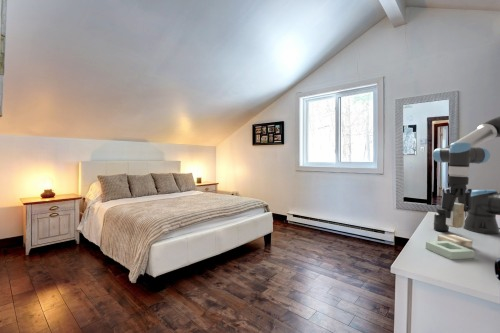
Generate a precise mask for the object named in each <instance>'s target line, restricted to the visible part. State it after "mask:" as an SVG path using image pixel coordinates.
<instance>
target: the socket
mask: <svg viewBox="0 0 500 333" xmlns="http://www.w3.org/2000/svg"><path fill="white" fill-rule="evenodd" d="M425 249H426V250H429V251H431V252H432V253H435V254H438V255H440V256H442V257H444V258H447V259H450V260H463V259H475V250H473V249H470V248H469V247H468V248H465V247H463V246H460V245H457V244H454V243H452V242H449V241H438V240H436V241H435V240H434V241H426V242H425Z"/></svg>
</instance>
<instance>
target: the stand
mask: <svg viewBox="0 0 500 333" xmlns="http://www.w3.org/2000/svg"><path fill="white" fill-rule="evenodd" d="M437 241H449V242H452V243H454V244H457V245H460V246H463V247H465V248H468V249H469V248H473V240H471V239H467V238H465V237H462V236H458V235H456V234H438V235H437Z"/></svg>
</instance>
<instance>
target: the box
mask: <svg viewBox="0 0 500 333" xmlns="http://www.w3.org/2000/svg"><path fill="white" fill-rule="evenodd" d="M452 212H453V226H450V225H447V226H449V228H450V227H451V228H456V229H460V228H463V215H464V204H461V203H459V202H455V203H454V206H453V209H452Z"/></svg>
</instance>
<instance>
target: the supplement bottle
mask: <svg viewBox="0 0 500 333" xmlns="http://www.w3.org/2000/svg"><path fill="white" fill-rule="evenodd" d="M445 216H446V211H445V210H443V209H442V208H436V212H435V213H434V216H433V230H434V231H437V232H439V233H440V232H441V233H448V232H449V230H450V226H447V224H446V217H445Z"/></svg>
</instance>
